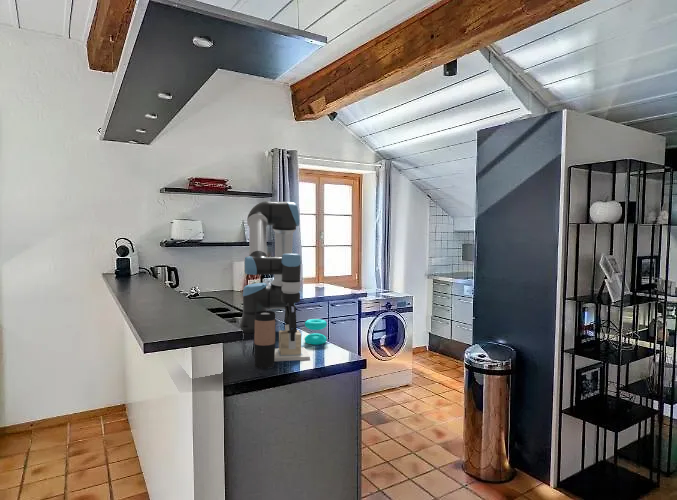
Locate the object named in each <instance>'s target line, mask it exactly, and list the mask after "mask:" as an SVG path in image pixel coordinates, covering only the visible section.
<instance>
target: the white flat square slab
mask: <svg viewBox="0 0 677 500" xmlns="http://www.w3.org/2000/svg"><path fill="white" fill-rule="evenodd" d="M310 360H311V356H310V354H309V353H308V351H307V349H306V348H305V347H303V346H301V354H298V355H281V354H280V352H279V347H278V348H276V347H275V358H274V362H286V361H287V362H289V361H310Z"/></svg>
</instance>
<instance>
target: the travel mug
mask: <svg viewBox="0 0 677 500" xmlns="http://www.w3.org/2000/svg"><path fill="white" fill-rule="evenodd" d="M253 335H254V340H253V341H254V344H253V345H254V346H253V348H254V350H253V351H254V367H255V368H257V369H261V370H263V369H264V370H265V369H267V370H268V369H272V368H274V367H275V361H274V358H275V349H276V312H275V311H273V310H266V311H258V312H255V333H253Z"/></svg>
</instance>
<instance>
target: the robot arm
mask: <svg viewBox="0 0 677 500" xmlns="http://www.w3.org/2000/svg"><path fill="white" fill-rule="evenodd" d="M299 214H300V213H299V207H298V204H297V203H296V202H292V201H268V200H267V201H262V202H258V204H256V205H254V206H253V207H252V208H251V209H250V211H249V212H248V215H247V219H246V224H247V226H248V229H249V233H248V235H249V236H248V237H249V246H248V247H249V248H248V250H249V253H248V256H245V257H244V273H245V275H253V276H257V275H258V276H259V275H260V276H261V275H262V276H263V275H265V276H266V275H270V276H271V275H273V276H274V279H273V280H272V281H271V282H270V283H271V284H270V285H268V284H267V283H266V282H257V283H251V284H247V285H244V287H243V289H242V290H243V291H242V316H241V320H240V323H239V326H238V329H239V328H241V329H242V330H243V332H242V333H246V334H255V312H258V311H267V310H282V309H283V310H285V311H284V330H289V331H288V333H289V349H296V332H297V330H298V329H297V307H296V306H295V305H296V303H297V304H298V303H300V302H301V293H300V291H301V264H302V260H301V255H300V253H293V241H294V240H293V237H294V235H293V234H294V232H295V231H296V230H297V227H298V226H300V215H299ZM267 226H271V227H272V230H273V231H274V235H275V238H274V246H275V247H274V256H268V246H267V245H268V243H267Z"/></svg>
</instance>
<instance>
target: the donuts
mask: <svg viewBox="0 0 677 500" xmlns="http://www.w3.org/2000/svg"><path fill="white" fill-rule="evenodd" d="M327 325H328V323H327V320H324V319H320V318H310V319H307V320H306V321H304V326H305V327H306V328H307V329H308V330H313V331H317V330H319V331H320V330H323V329H325V328H326V327H327ZM304 342H305V343H306V344H308V345H314V346H315V345H316V346H317V345H324V344H325V343H326V342H327V337H326V336H325V335H324V334H322V333H309V334H307V335H306V336H305V337H304Z"/></svg>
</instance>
